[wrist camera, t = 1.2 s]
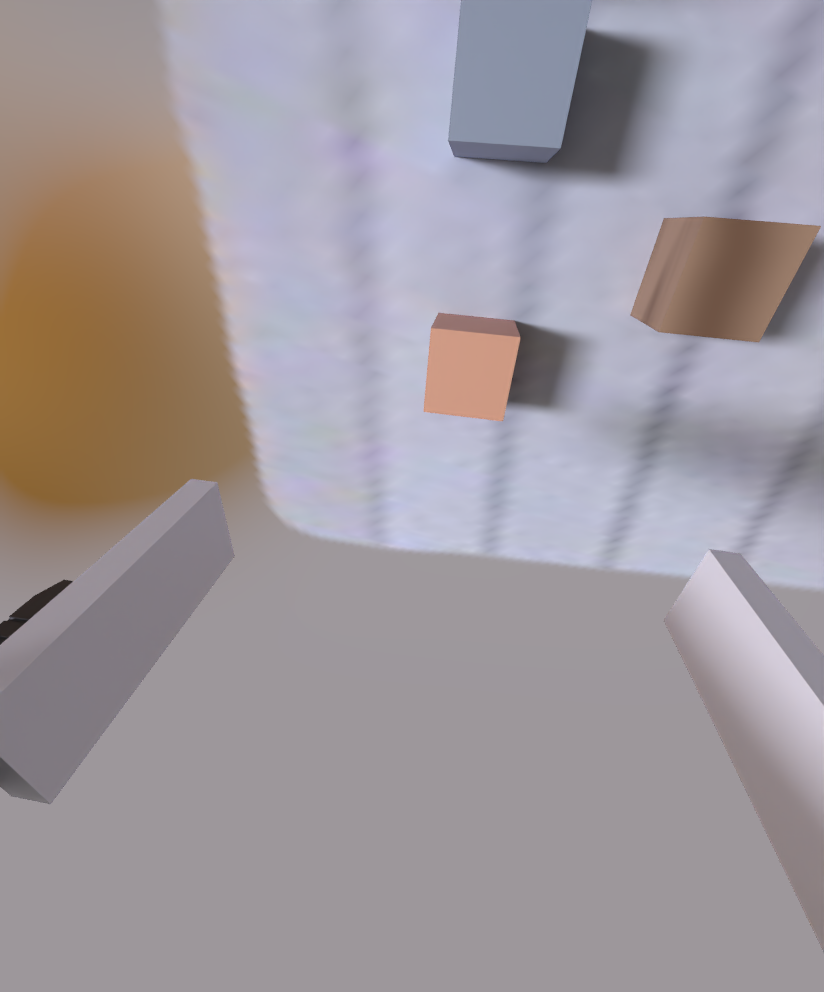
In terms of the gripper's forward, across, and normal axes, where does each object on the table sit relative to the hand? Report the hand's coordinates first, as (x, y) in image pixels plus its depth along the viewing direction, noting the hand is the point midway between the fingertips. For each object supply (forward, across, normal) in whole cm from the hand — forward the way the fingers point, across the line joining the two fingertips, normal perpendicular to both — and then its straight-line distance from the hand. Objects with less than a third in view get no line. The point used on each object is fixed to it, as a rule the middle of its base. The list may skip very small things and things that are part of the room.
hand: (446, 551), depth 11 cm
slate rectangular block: (+20, 0, +13) cm, 24 cm away
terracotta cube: (+20, 0, 0) cm, 20 cm away
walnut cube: (+20, +12, +6) cm, 25 cm away
